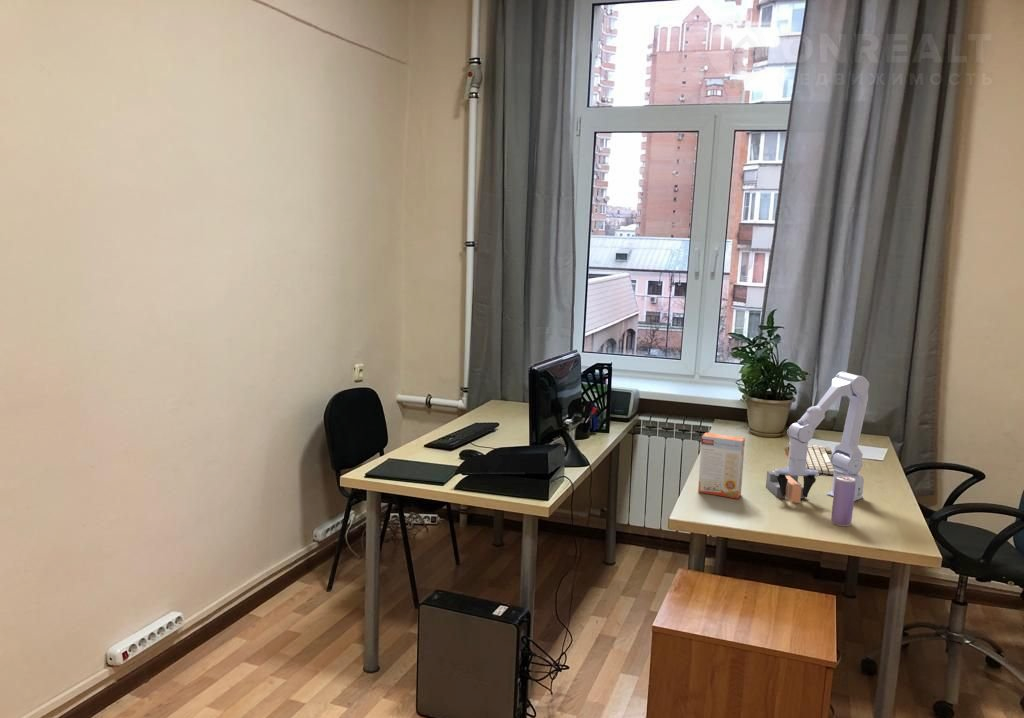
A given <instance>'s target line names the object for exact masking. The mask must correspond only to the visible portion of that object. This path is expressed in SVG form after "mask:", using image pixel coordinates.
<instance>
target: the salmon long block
mask: <svg viewBox="0 0 1024 718" xmlns="http://www.w3.org/2000/svg"><path fill="white" fill-rule="evenodd" d="M786 478H787V479H788V481H787V485H786V494H785V496H784V498H786V500H788V501H790V503H801V499H802V498H801V488H802V486H803V485H802V484H801V483H800V482H799V483H800V484H801V485H802V486H801V485H800V484H799V483H797V482H796V481H795V480H794V479H793V478H791V477H790V476H786Z"/></svg>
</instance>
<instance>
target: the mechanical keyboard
mask: <svg viewBox="0 0 1024 718" xmlns="http://www.w3.org/2000/svg"><path fill="white" fill-rule="evenodd" d="M783 449H784V453H785V455H786V457H787V459H788V460H789V449H790V441H789V442H788V446H787V447H784V448H783ZM832 453H833V452H832V449H831V447H830V446H829V445H827V446H824V445H819V446H818V445H814V444H813V445H811V444H808V448H807V459H806V469H810V470H817V471H818V474H819V475H818V476H822V475H821V474H824V475H823V476H831V475H833V476H834V469H833V466H832V464H831V462H830V459H829V457H828V455H827V454H832ZM788 460H787V461H788Z"/></svg>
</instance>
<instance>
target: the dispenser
mask: <svg viewBox="0 0 1024 718" xmlns="http://www.w3.org/2000/svg"><path fill="white" fill-rule="evenodd" d="M790 477H791V478H793V479H794V480H795V481H796V482H797V483H799V484H800V485H801V486H802V488H801V498H800V499H805V498H806V497H805V496H803V486H804V485H802V483H800V482H799V476H790ZM765 488H766V489H768V490H769V492H770V493H772V495H773V496H775V498H782V499H783V498H785V496H782V495H781V490H780V485H779V482H778V479H777V477H776V475H775V474H774V470H767V471H766V481H765Z"/></svg>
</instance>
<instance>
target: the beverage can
mask: <svg viewBox="0 0 1024 718" xmlns="http://www.w3.org/2000/svg"><path fill="white" fill-rule="evenodd" d="M855 485H856V482H855V479H854V478H853V477H850V476H843V475H840V476H836V479H835V487H834V496H832V498H833V499H832V507H831V518H830V520H831V522H832V524H835V525H837V526H840V527H848V526H850V525H851V524H852V521H853V511H854V502H855V501H854V494H855Z"/></svg>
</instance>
